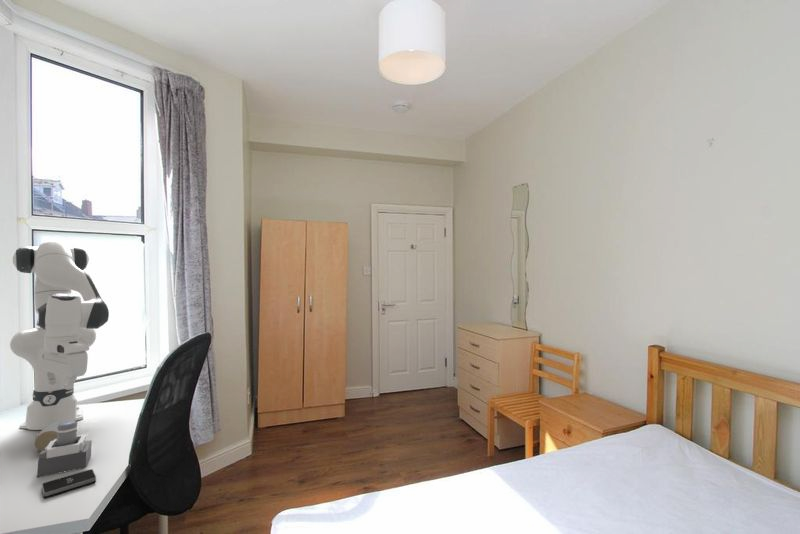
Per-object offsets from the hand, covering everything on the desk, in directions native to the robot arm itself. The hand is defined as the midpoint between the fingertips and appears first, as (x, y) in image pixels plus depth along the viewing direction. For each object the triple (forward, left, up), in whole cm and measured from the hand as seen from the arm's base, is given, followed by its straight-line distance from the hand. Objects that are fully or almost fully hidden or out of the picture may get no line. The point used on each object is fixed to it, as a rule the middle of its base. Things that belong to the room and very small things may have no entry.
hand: (60, 386), depth 118 cm
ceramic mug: (-14, -3, -24) cm, 28 cm away
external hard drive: (+19, +6, -25) cm, 32 cm away
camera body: (+4, +3, -24) cm, 25 cm away
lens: (+4, +3, -19) cm, 20 cm away
